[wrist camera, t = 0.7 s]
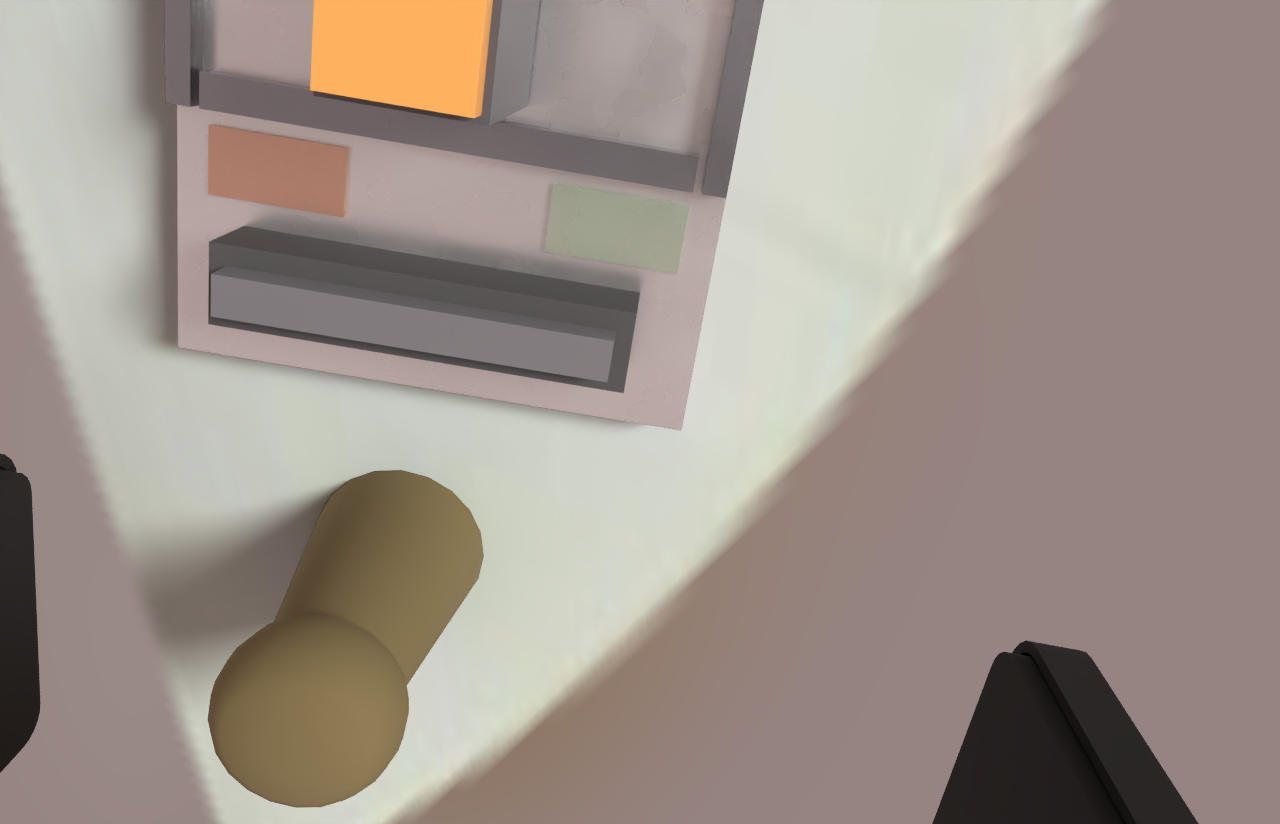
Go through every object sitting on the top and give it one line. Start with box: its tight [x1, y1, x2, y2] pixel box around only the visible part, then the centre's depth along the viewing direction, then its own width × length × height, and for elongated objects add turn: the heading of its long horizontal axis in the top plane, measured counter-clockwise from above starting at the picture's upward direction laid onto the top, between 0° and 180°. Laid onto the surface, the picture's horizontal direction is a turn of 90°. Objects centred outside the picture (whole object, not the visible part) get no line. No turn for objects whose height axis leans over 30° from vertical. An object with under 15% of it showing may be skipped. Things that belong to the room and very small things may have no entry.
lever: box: [310, 0, 540, 126], centre depth 24 cm, size 4×4×7 cm
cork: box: [208, 470, 483, 807], centre depth 31 cm, size 6×6×11 cm
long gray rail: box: [208, 226, 640, 393], centre depth 26 cm, size 18×12×3 cm, turn 171°
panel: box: [164, 0, 764, 430], centre depth 28 cm, size 22×16×3 cm
